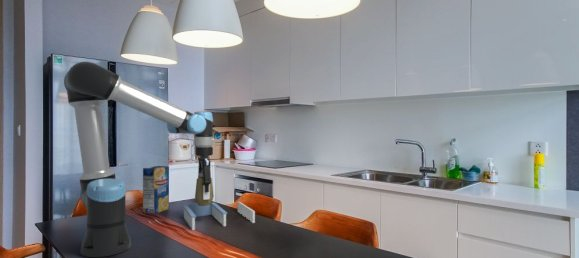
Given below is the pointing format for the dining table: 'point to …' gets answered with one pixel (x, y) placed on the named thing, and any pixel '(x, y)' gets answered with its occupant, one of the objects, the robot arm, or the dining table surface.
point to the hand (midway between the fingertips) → (204, 197)
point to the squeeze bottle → (200, 192)
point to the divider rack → (214, 213)
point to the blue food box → (155, 189)
